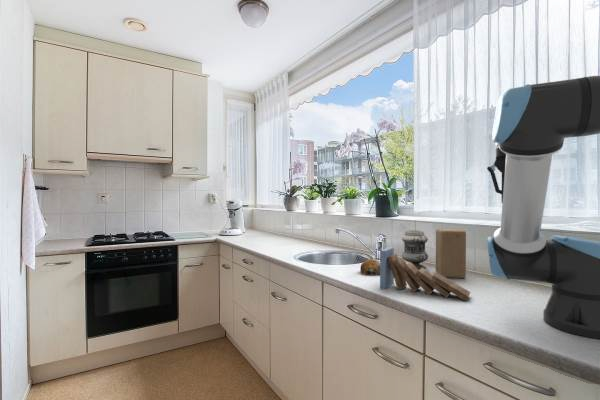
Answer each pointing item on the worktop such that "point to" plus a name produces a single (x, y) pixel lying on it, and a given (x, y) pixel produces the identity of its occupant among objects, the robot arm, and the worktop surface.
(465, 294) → the loose domino
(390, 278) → the board
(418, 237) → the grey tall rounded piece
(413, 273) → the domino
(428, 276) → the domino
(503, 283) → the worktop surface
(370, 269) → the brown furry rounded lump
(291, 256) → the worktop surface
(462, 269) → the wooden block
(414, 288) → the domino
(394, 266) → the domino
